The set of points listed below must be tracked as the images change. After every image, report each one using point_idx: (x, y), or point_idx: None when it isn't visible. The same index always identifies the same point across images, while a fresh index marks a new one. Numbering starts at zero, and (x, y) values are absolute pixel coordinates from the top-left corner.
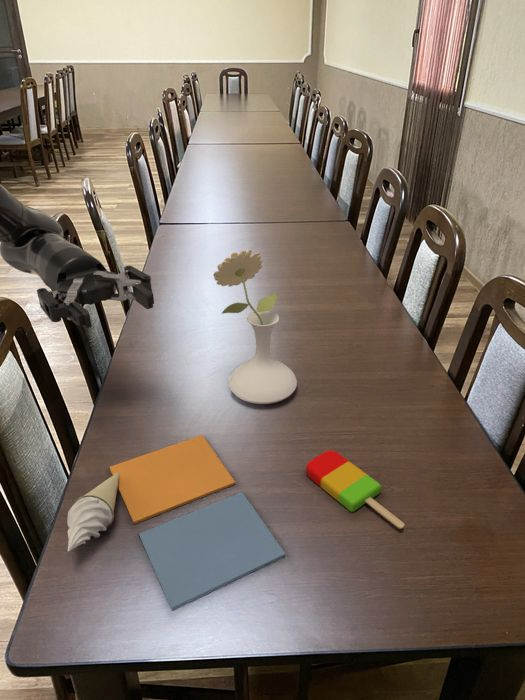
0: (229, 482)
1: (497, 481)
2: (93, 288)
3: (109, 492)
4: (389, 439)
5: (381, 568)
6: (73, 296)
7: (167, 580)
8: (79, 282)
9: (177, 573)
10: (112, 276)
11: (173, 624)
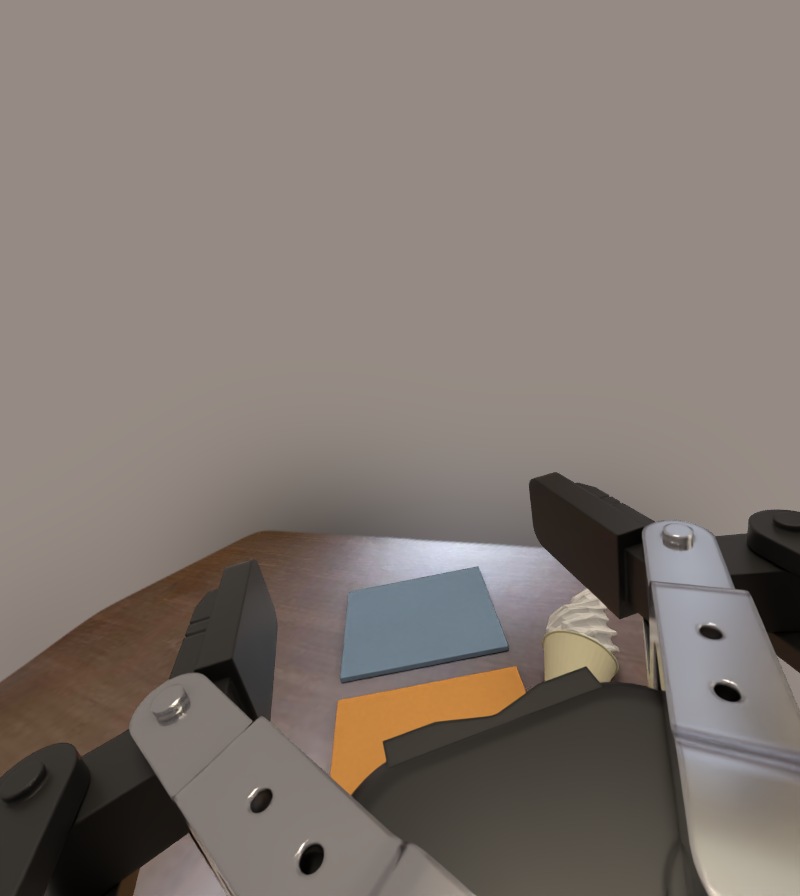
0: (346, 701)
1: (87, 627)
2: (537, 712)
3: (551, 668)
4: (64, 728)
5: (283, 574)
6: (671, 579)
7: (477, 587)
8: (711, 740)
9: (465, 592)
10: (293, 814)
11: (479, 561)
